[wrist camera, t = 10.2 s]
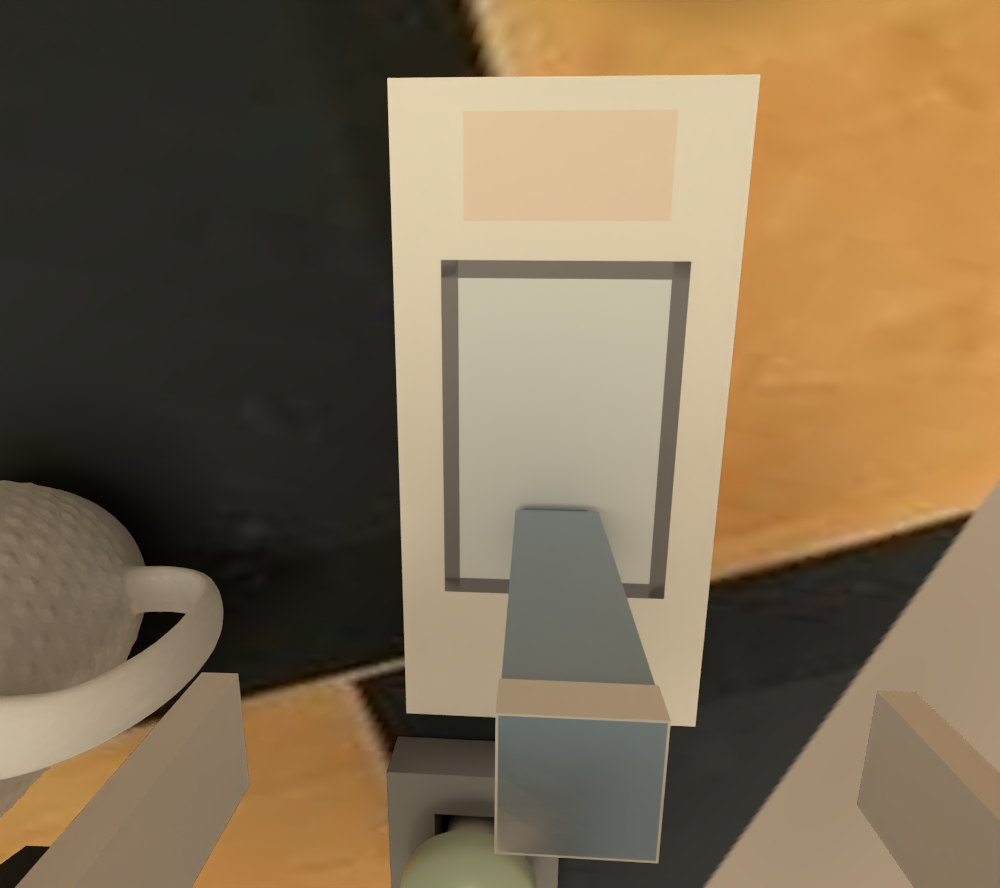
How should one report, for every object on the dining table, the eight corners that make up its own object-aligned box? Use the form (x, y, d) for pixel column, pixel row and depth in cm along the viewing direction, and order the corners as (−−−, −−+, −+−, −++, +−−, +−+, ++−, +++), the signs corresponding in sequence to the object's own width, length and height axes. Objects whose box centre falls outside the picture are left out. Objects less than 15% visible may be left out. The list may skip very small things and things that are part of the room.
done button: (416, 876, 25) (397, 967, 22) (413, 776, 24) (393, 855, 21) (535, 884, 25) (535, 976, 22) (538, 783, 24) (539, 863, 20)
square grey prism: (513, 574, 23) (494, 853, 11) (515, 499, 22) (495, 712, 10) (593, 577, 23) (657, 863, 11) (597, 501, 22) (671, 720, 10)
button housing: (402, 866, 27) (392, 910, 25) (397, 736, 25) (386, 772, 23) (554, 875, 26) (556, 920, 25) (559, 744, 25) (561, 781, 23)
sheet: (408, 706, 25) (406, 713, 24) (390, 82, 19) (387, 77, 19) (692, 719, 24) (695, 727, 24) (755, 79, 19) (761, 73, 18)
